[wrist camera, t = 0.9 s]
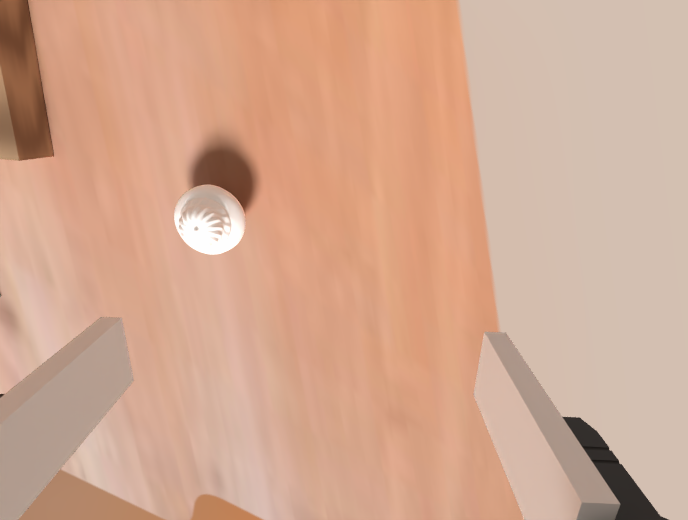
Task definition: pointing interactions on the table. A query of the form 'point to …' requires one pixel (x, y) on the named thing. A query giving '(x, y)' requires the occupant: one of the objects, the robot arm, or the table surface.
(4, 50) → the brown wooden slab
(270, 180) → the table surface
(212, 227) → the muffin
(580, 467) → the robot arm
